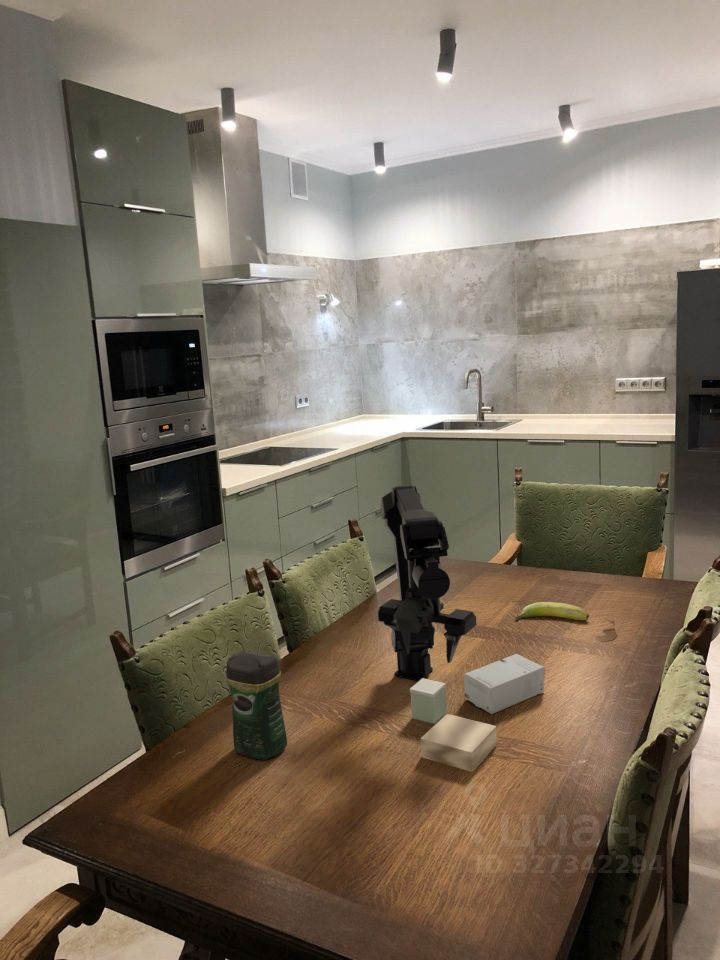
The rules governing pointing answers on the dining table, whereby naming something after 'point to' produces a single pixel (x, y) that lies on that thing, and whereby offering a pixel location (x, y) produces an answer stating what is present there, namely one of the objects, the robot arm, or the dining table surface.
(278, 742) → the coffee jar
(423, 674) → the robot arm
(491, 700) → the skincare box
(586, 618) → the green-yellow banana
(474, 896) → the dining table surface
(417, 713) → the tea tin
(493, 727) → the beech box
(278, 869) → the dining table surface
